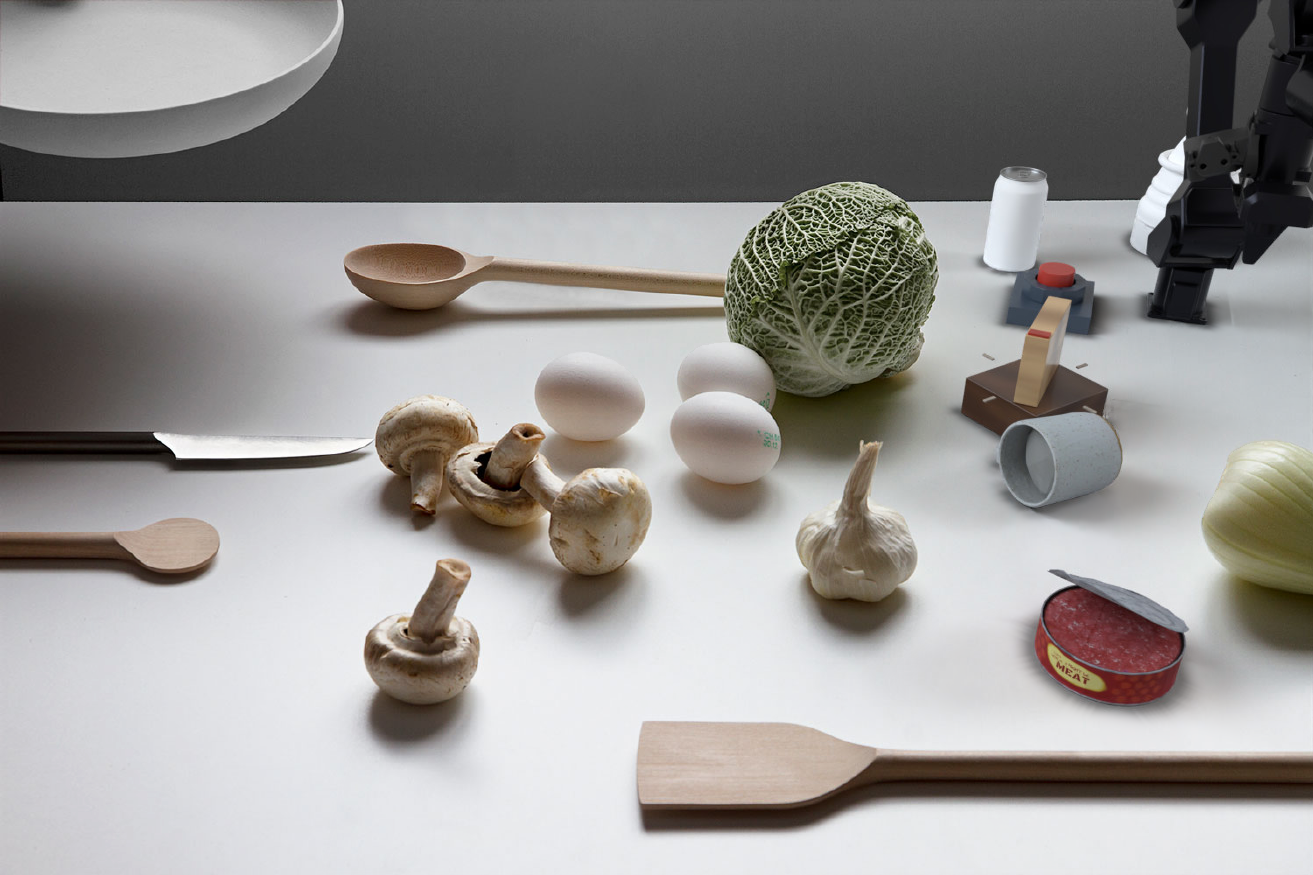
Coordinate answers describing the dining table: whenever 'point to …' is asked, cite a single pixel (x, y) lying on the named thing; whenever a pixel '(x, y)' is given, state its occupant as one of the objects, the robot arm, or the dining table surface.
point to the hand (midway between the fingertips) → (1247, 263)
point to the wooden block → (997, 410)
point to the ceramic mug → (1058, 457)
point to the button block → (1034, 294)
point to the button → (1056, 274)
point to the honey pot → (1160, 195)
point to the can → (1016, 219)
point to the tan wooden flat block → (1042, 351)
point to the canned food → (1109, 642)
